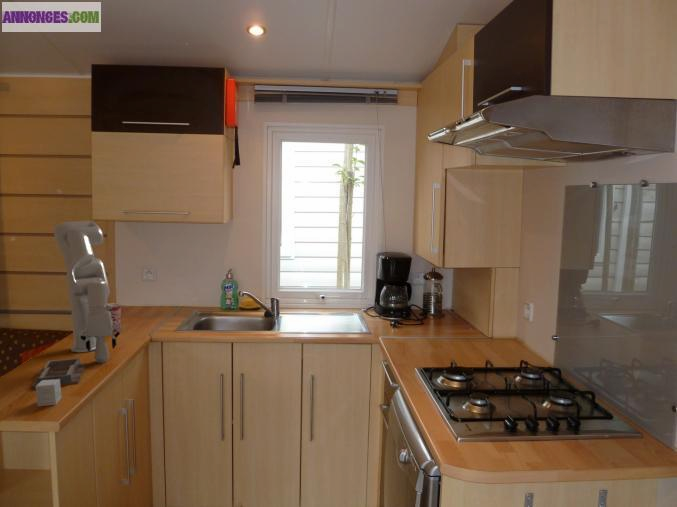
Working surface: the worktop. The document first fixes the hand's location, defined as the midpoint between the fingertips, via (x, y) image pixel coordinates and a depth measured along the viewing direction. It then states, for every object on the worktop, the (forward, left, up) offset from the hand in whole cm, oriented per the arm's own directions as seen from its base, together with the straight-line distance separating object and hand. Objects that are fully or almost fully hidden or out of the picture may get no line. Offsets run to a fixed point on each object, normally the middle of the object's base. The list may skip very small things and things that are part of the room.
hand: (101, 348), depth 232 cm
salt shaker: (0, 0, -6) cm, 6 cm away
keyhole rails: (+14, -14, -6) cm, 20 cm away
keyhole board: (+14, -14, -6) cm, 20 cm away
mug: (-55, +1, -6) cm, 56 cm away
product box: (+42, -13, -6) cm, 44 cm away
